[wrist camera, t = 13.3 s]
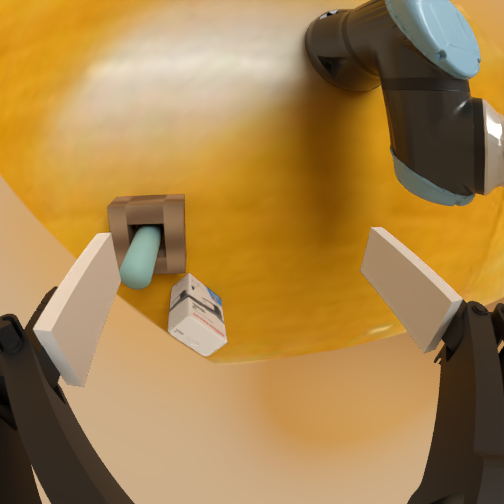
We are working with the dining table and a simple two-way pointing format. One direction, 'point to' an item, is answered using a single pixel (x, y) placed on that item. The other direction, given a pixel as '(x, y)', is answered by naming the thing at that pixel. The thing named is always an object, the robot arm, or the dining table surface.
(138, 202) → the socket block
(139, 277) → the peg
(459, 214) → the dining table surface
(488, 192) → the robot arm
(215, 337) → the ink box
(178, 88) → the dining table surface
